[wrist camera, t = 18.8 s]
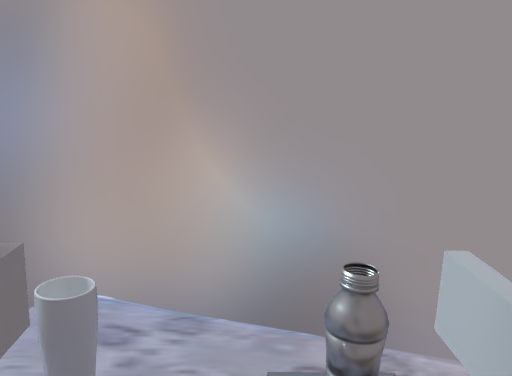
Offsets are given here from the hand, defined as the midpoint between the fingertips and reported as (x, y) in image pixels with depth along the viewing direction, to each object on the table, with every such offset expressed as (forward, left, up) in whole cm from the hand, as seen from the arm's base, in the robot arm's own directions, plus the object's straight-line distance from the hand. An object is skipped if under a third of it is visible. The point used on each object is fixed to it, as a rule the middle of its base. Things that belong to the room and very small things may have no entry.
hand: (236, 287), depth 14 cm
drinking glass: (-20, +36, -32) cm, 52 cm away
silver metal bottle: (+12, +28, -31) cm, 44 cm away
